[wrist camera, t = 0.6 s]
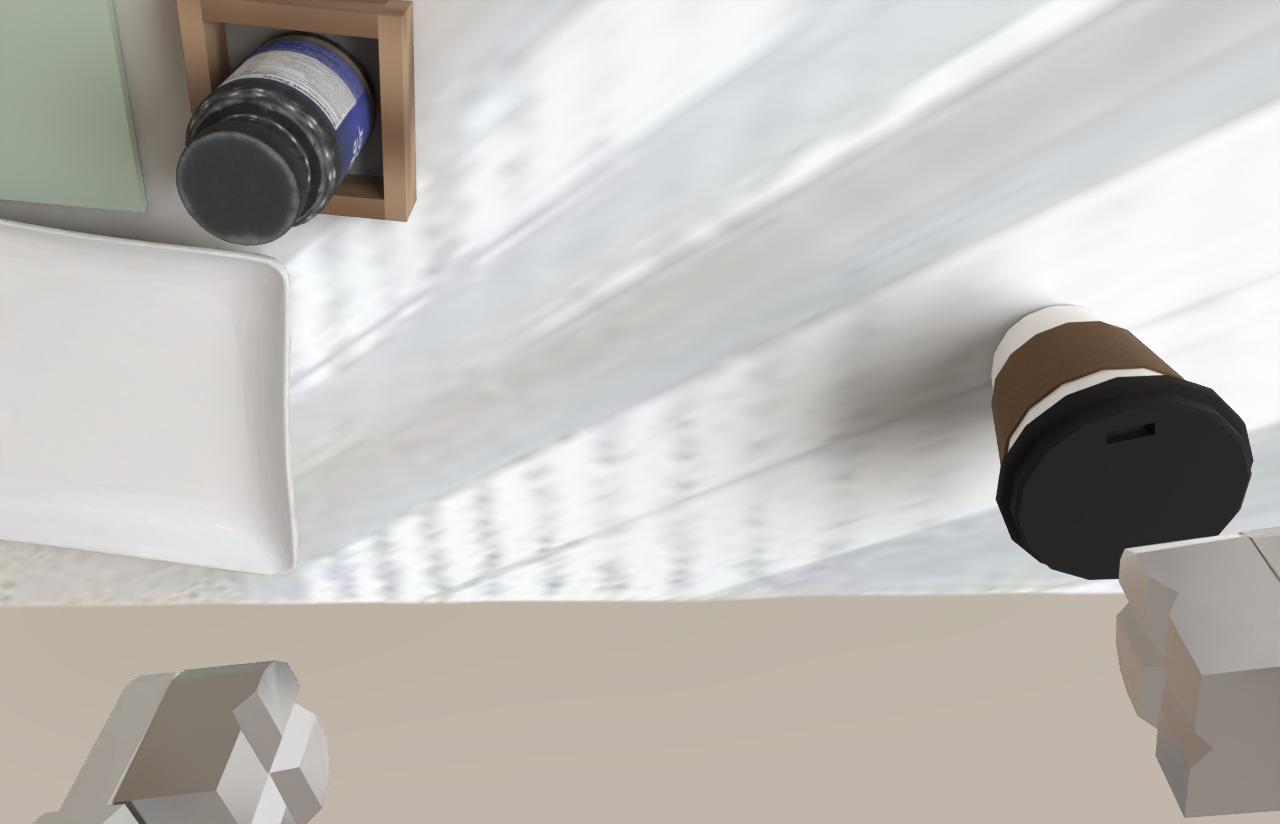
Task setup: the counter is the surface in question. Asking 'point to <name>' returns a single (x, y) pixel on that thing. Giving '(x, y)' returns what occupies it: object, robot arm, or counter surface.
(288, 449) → the salad plate
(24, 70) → the sage mat
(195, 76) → the walnut collar
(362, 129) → the pill bottle
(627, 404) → the counter surface
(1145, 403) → the coffee cup
